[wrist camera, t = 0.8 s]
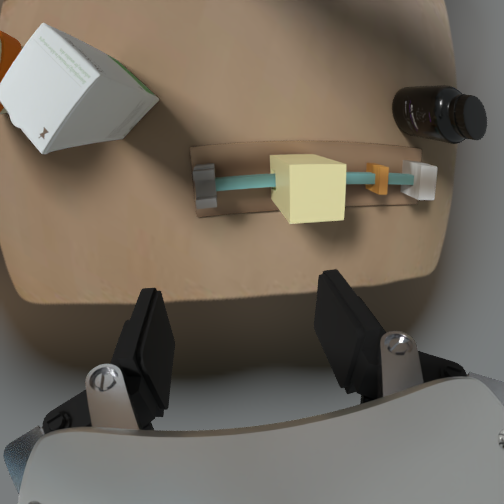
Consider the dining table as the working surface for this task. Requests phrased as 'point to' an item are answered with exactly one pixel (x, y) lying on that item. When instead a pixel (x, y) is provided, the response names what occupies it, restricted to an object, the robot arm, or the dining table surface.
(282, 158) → the pale yellow block
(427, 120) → the supplement bottle
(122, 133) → the skincare box
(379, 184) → the cable board
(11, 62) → the reusable coffee cup
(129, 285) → the dining table surface
